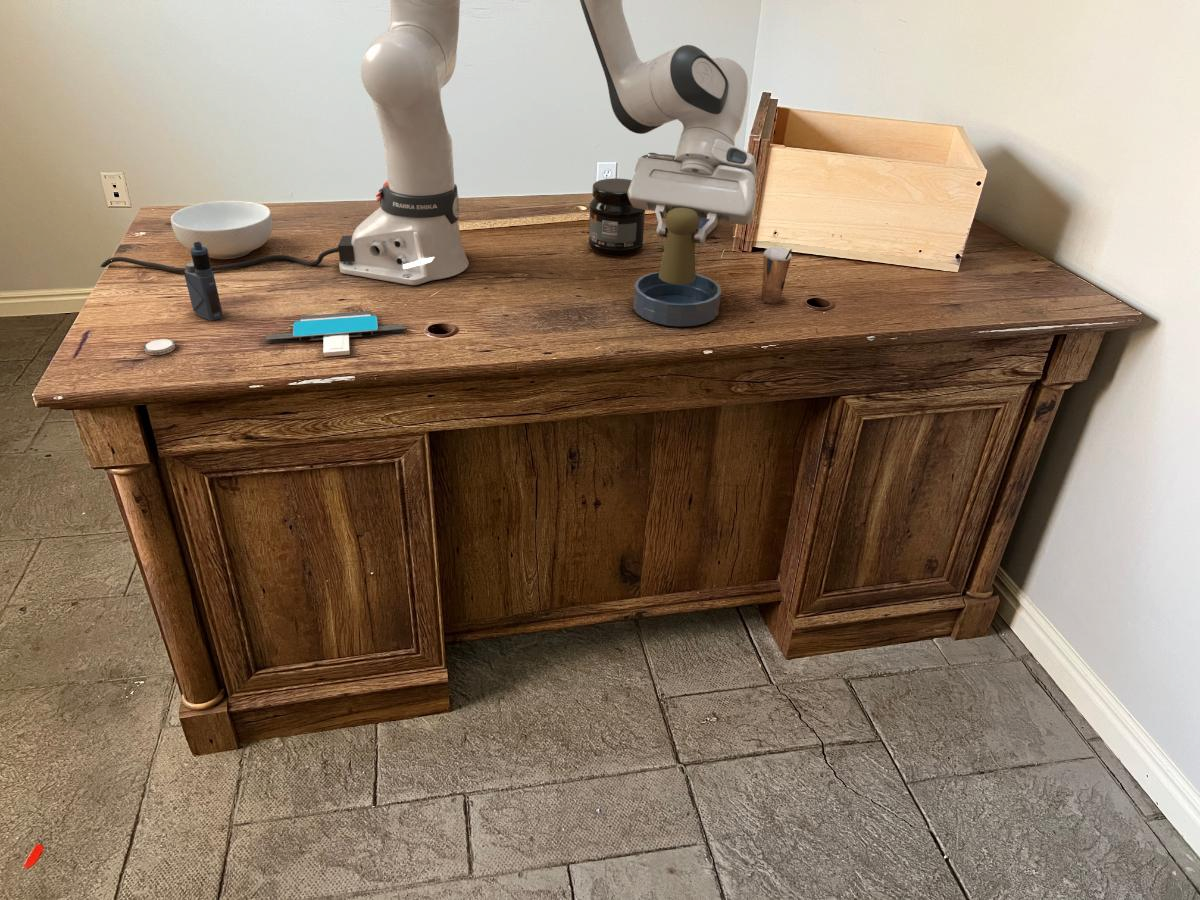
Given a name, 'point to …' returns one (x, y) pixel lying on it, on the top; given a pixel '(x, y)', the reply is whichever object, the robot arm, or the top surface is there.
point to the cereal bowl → (223, 227)
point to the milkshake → (774, 273)
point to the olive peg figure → (679, 247)
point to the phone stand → (335, 330)
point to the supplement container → (614, 219)
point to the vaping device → (202, 284)
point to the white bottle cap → (159, 346)
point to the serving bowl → (676, 300)
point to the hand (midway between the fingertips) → (679, 238)
